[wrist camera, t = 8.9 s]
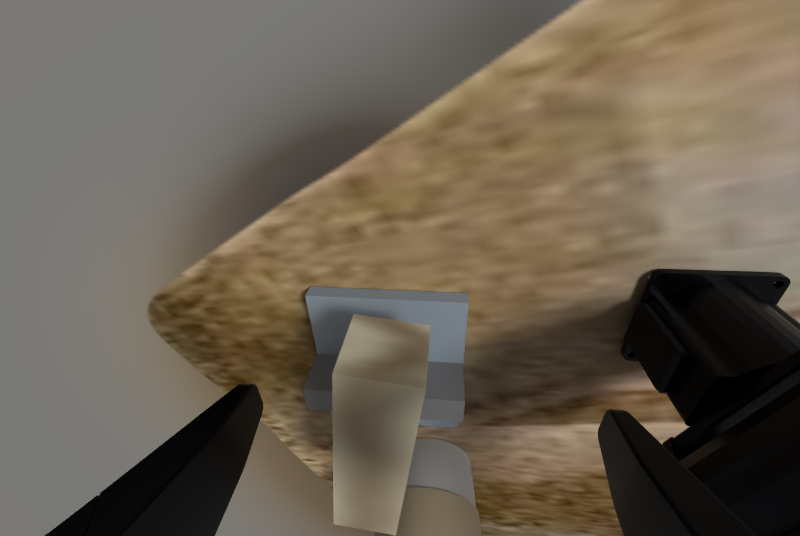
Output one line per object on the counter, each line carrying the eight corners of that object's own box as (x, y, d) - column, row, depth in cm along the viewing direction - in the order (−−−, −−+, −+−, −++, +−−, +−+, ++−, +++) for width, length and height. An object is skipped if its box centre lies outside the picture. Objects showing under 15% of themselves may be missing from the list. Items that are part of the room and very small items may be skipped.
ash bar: (430, 325, 18) (426, 388, 15) (402, 471, 26) (396, 535, 22) (353, 313, 18) (332, 373, 15) (348, 461, 26) (333, 524, 22)
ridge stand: (467, 293, 22) (471, 338, 18) (457, 416, 28) (458, 467, 24) (310, 286, 23) (286, 327, 19) (334, 406, 29) (319, 454, 26)
